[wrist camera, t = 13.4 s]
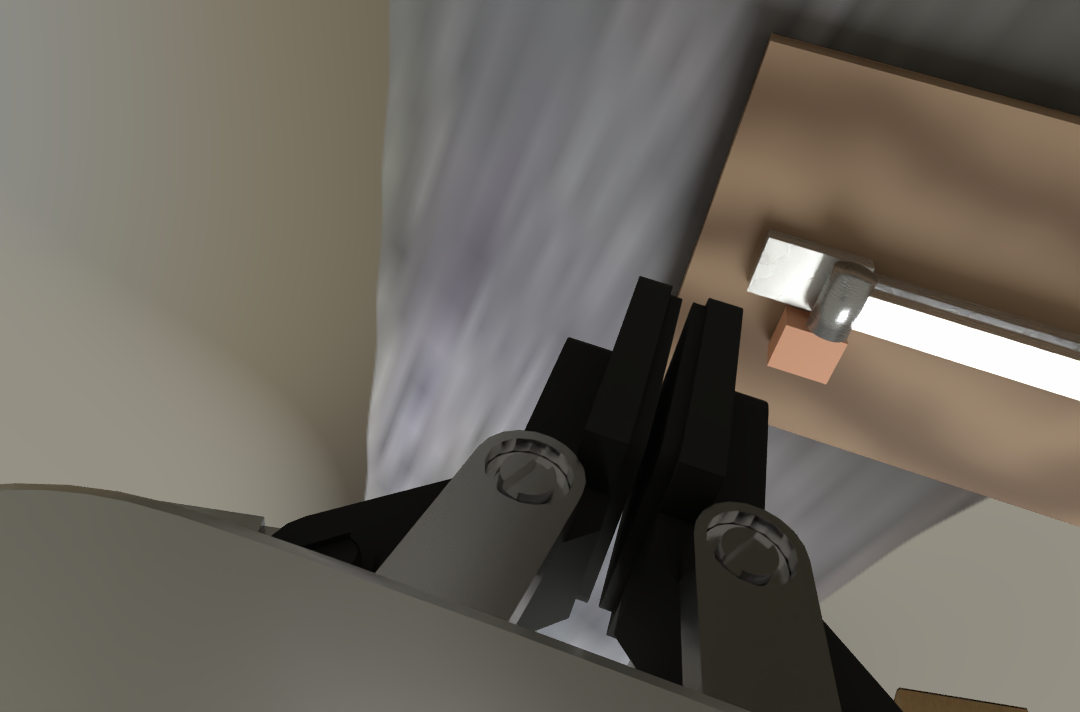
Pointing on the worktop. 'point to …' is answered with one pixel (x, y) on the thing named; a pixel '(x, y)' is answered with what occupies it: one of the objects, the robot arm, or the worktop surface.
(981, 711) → the sandwich container
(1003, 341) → the upper tong arm
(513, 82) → the worktop surface
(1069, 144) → the walnut cutting board
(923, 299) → the tongs lower arm
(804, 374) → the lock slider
